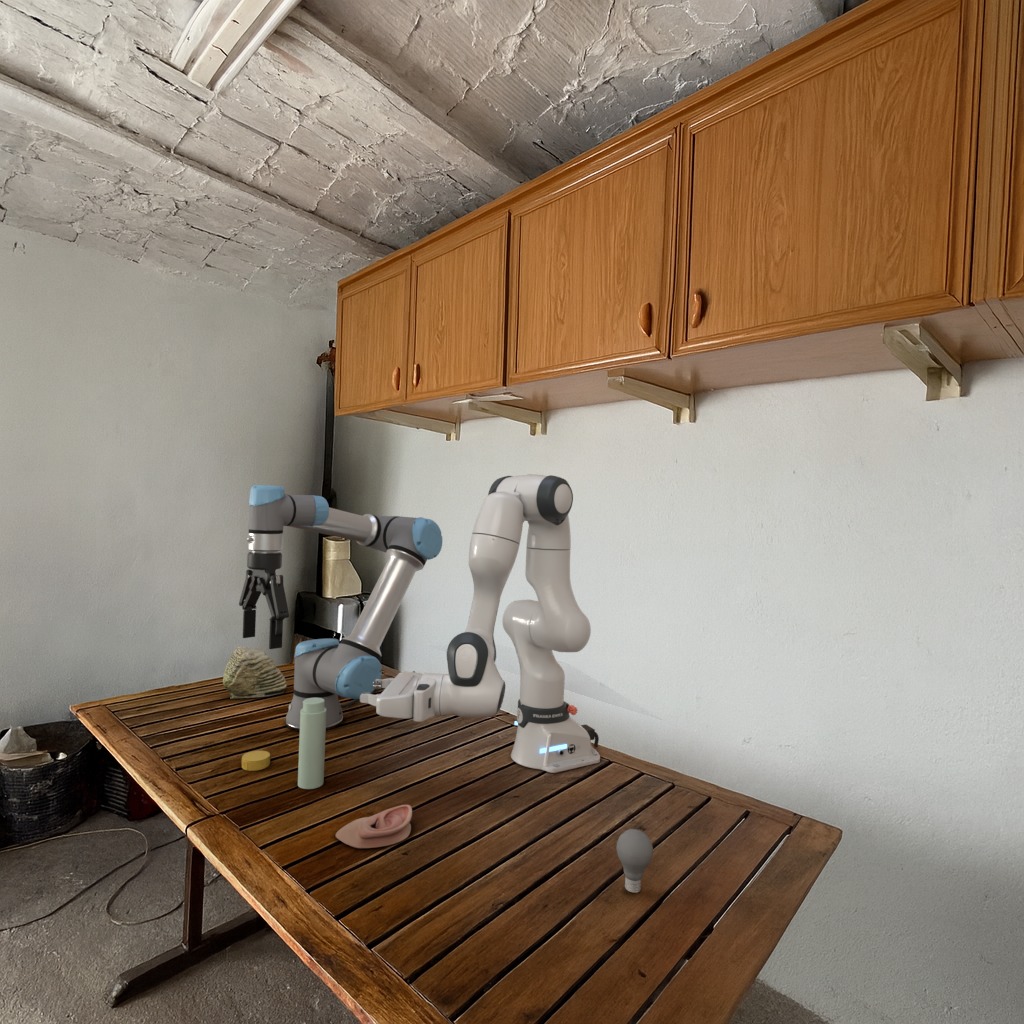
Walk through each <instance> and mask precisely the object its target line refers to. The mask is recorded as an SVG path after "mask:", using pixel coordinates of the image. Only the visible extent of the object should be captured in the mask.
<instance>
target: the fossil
mask: <svg viewBox="0 0 1024 1024" xmlns="http://www.w3.org/2000/svg"><path fill="white" fill-rule="evenodd" d="M222 676H223V677H222V685H223V687H224V688H225V690H226V691H228V693H229V698H230V699H250V698H264V697H271V696H275V695H281V694H284V693H285V691H286V689H287V687H288V686H287V680H286V678H285V676H284V674H283V673H282V672H281V669H279V668H278V667H277V665H276V663H275V662H274V660H273V659H272V658H271V657H270V656H269V655H268V654H267V653H266V652H265V650H264V649H263V648H260V647H258V648H251V647H247V646H246V647H245V646H238V647H237V648H236V649H235V650H233V651H232V653H231V656H230V657H229V659H228V660H227V663H226V666H225V668H224V671H223V675H222Z"/></svg>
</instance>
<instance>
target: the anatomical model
mask: <svg viewBox="0 0 1024 1024" xmlns="http://www.w3.org/2000/svg"><path fill="white" fill-rule="evenodd" d="M412 817H413V808H412V806H411V805H410V804H401V805H396V806H393V807H390V808H388V809H385V810H382V811H380V812H378V813H375V814H373V815H370V816H364V817H361V818H357V819H355V820H352V821H350V822H349V823H346V824H345V825H344V826H342V827H341V828H340V829H338V830H337V832H335V838H336V839H337V840H338V841H341V842H342V843H344V844H345V845H348V846H349V847H352V848H355V849H372V848H373V849H374V848H381V847H388V846H391V845H395V844H397V843H400V842H402V841H404V840H405V839H408V837H409V836H410V834H411V831H412V824H411V821H412Z"/></svg>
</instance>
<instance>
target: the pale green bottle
mask: <svg viewBox="0 0 1024 1024" xmlns="http://www.w3.org/2000/svg"><path fill="white" fill-rule="evenodd" d="M326 732H327V730H326V708H325V707H324V699H322V698H308V699H305V700H304V701H303V708H302V709H301V711H300V731H299V737H298V739H299V740H298V741H299V742H298V763H297V764H298V768H297V786H298V788H299V789H303V790H314V789H317V788H320V787H322V786H323V785H324V781H325V780H324V779H325V756H326V755H325V754H326V734H327V733H326Z"/></svg>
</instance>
